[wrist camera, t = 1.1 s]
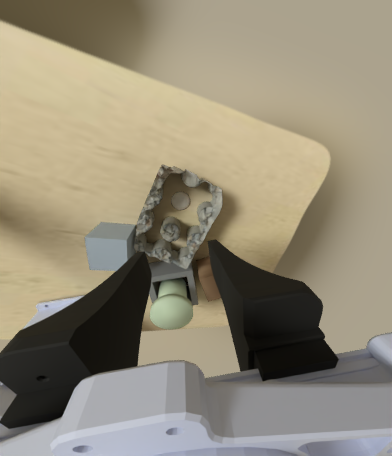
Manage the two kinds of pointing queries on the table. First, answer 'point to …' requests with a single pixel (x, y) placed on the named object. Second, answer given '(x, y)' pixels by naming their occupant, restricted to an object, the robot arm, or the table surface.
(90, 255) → the slate-blue block
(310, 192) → the table surface
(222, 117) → the table surface
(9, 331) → the table surface
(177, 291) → the green button
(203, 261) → the walnut block
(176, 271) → the button housing
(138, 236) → the egg carton
